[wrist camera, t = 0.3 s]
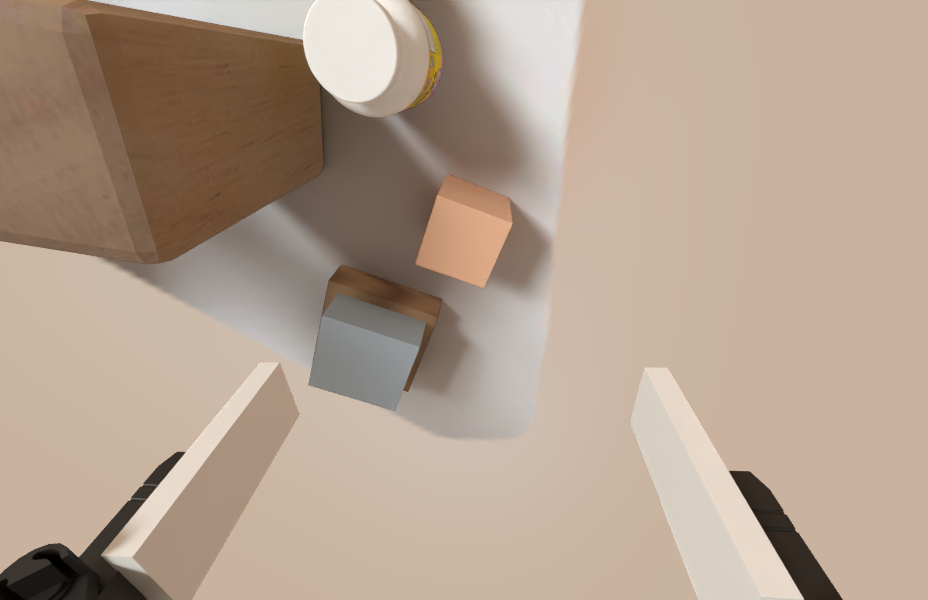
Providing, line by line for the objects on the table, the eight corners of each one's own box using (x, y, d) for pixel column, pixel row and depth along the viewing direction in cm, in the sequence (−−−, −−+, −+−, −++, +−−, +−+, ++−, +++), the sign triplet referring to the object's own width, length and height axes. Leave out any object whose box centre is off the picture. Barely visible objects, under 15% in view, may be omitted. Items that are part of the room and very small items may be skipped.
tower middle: (323, 359, 41) (308, 385, 38) (338, 292, 36) (322, 315, 33) (402, 383, 42) (394, 410, 39) (426, 322, 38) (419, 347, 34)
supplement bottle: (389, 122, 32) (334, 147, 21) (342, 36, 29) (250, 12, 18) (459, 80, 30) (441, 84, 19) (417, -16, 27) (367, -78, 16)
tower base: (326, 340, 45) (312, 362, 41) (342, 262, 39) (328, 280, 36) (414, 368, 46) (408, 391, 43) (442, 296, 41) (437, 317, 37)
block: (328, 175, 34) (164, 276, 17) (218, 156, 34) (-60, 240, 17) (323, 43, 29) (81, -1, 12) (192, 21, 29) (-246, -58, 12)
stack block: (427, 233, 37) (414, 264, 31) (446, 173, 34) (437, 195, 28) (485, 254, 37) (483, 288, 31) (509, 197, 34) (512, 223, 28)
